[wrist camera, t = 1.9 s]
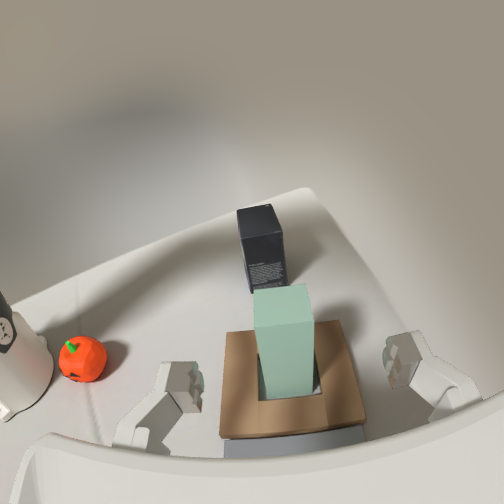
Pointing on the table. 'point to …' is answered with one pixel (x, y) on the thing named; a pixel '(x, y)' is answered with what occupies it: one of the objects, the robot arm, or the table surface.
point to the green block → (285, 339)
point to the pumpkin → (82, 359)
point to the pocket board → (292, 409)
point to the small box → (262, 247)
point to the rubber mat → (294, 443)
